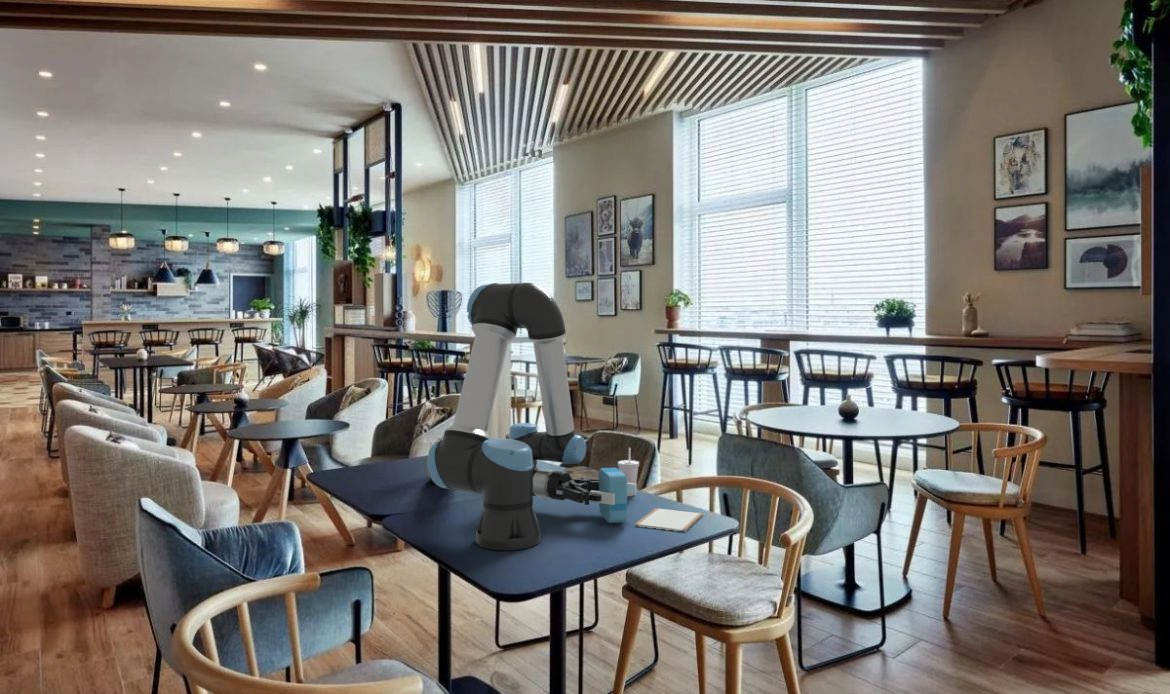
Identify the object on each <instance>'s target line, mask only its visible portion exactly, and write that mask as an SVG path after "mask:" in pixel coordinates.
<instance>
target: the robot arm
mask: <svg viewBox="0 0 1170 694" xmlns="http://www.w3.org/2000/svg"><path fill="white" fill-rule="evenodd" d="M466 313H468V315H467V319H468V321H469V324H470V325H471V331H472V332H473V334H474V335H475V336H474V340H473V345H472V346H471V347H472V348H471V351H470V355H469V360H468V364H467V368H466V372H465V375H464V379H463V383H462V386H461V387H462V388H461V392H460V395H459V400H458V404H457V407H456V411H455V415H454V419H453V423H452V425H451V426H449V427H448V428H446V429H445V430H444V433H443V437H442V438H440V439H439V440H436V441H434V443H433V444H432V445H431V446H430V449H428V454H427V471H428V474H430V479H431V480H432V482H433V483H434V484H435V485H437V486H438V487H439V488H443V489H448V490H451V491H460V492H461V491H462V492H468V493H476V494H482V501H483V502H482V503H483V504H482V505H483V507H482V512H481V514H480V515H481V516H480V519H479V522H478V525H477V528H476V532H475V543H476V545H477V546H479V547H480V548H483V549H486V550H493V551H517V550H524V549H528V548H532V547H534V546H536V545H538V544H539V543H540V542H541V540H542V538H541V537H542V532H541V527H540V523H539V521H538V518H537V516H536V512H535V509H534V497H536V498H537V497H538V498H542V500H546V499H551V500H558V501H566V500H569V501H572V502H575V503H579V504H584V505H585V506H589V505H590V503H595V504H596V503H597V504H599V503H602V504H609V505H615V493H607V492H599V479H589V478H581V479H574V480H572V479H571V477H570V475H569V474H568V473H567V472H563V471H560V470H554V469H546V468H537V465H538V461H543V462H544V461H545V462H553V463H561V464H562V463H563V464H564V465H565V464H568V465H569V464H571V465H572V464H580V463H582V461H583V460H585V457H586V453H587V443H586V440H585V438H584V436H581V435H578V434H576V431H575V426H574V418H573V410H572V402H571V395H570V388H569V379H568V373H567V371H568V369H567V364H566V356H565V350H564V349H565V348H564V340H563V338H564V337H565V336H566V333H567V331H566V327H565V321H564V320H565V319H564V317H563V314H562V312H561V310H560V307H559V305H558V304H557V302H556V300H555V298H554V297H553V296H552V295H551V294H550V293H549V291H547V290H546V289H545V288H544V287H543V286H540V285H539V284H536V283H533V282H521V283H520V282H518V283H516V282H515V283H514V282H513V283H510V282H509V283H498V282H494V283H493V282H492V283H488V284H482V285H480V286H478V287H476V288H475V289H474V290H473V291H472V293H471V294H470V296H469V298H468V301H467V304H466ZM519 329H526V331H527V336H528V340H530V341H531V342H532V344H533V350H534V356H535V365H536V370H537V376H538V377H537V378H538V385H539V391H540V396H541V397H540V398H541V405H542V406H541V407H542V411H543V418H544V424H545V432H541V431H540V432H538V428H537V427H538V426H537V425H536V424H534V423H532V422H529V423H528V422H519V423H514V424H512V425H510V428H509V434H510V436H509V439H506V438H501V437H495V438H491V437H490V435H489V434H488V430H489V425H490V421H491V417H492V412H493V408H494V404H495V399H496V395H497V392H498V387H499V383H500V378H501V376H502V375H501V374H502V371H503V366H504V361H505V359H506V358H505V357H506V354H507V350H508V346H509V344H510V343H511V342H513V341H514V340H516V338H517V334H518V330H519ZM586 488H587V490H586ZM637 489H638V487H637V483H636V484H633V483H627V494H633V495H634V496H636V495H637V492H638V490H637Z"/></svg>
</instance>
